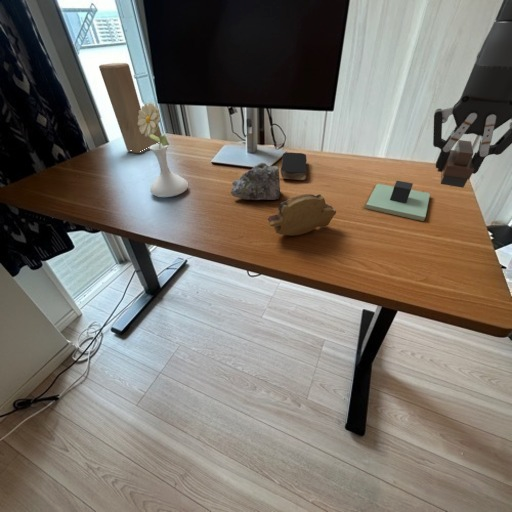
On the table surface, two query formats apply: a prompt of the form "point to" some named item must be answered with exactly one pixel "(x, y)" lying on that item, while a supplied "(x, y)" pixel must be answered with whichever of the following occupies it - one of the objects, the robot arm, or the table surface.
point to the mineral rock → (258, 183)
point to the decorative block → (126, 106)
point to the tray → (399, 203)
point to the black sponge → (293, 166)
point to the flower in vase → (160, 154)
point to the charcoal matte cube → (401, 191)
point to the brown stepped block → (458, 165)
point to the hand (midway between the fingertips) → (453, 172)
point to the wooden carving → (302, 215)
